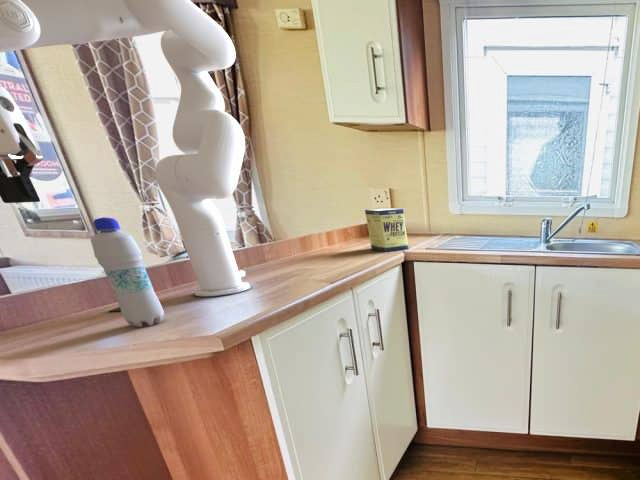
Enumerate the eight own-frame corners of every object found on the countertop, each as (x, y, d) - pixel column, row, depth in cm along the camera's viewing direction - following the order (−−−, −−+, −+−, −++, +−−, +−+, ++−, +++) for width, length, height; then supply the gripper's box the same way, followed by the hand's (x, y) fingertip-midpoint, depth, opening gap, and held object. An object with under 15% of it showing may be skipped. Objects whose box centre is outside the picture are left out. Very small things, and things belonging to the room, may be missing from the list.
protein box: (385, 251, 170) (379, 210, 164) (370, 248, 181) (364, 209, 175) (409, 248, 176) (403, 208, 169) (393, 245, 187) (387, 208, 180)
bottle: (163, 316, 89) (122, 215, 81) (172, 322, 85) (130, 216, 77) (123, 325, 85) (75, 218, 76) (131, 330, 81) (81, 219, 72)
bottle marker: (125, 306, 99) (124, 305, 99) (147, 305, 100) (147, 303, 100) (108, 312, 95) (108, 310, 95) (132, 310, 95) (131, 309, 95)
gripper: (36, 79, 70) (88, 199, 78) (-68, 81, 69) (-5, 203, 77) (-11, 68, 63) (51, 201, 71) (-126, 70, 62) (-50, 205, 70)
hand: (22, 201), depth 74 cm, fingers closed
